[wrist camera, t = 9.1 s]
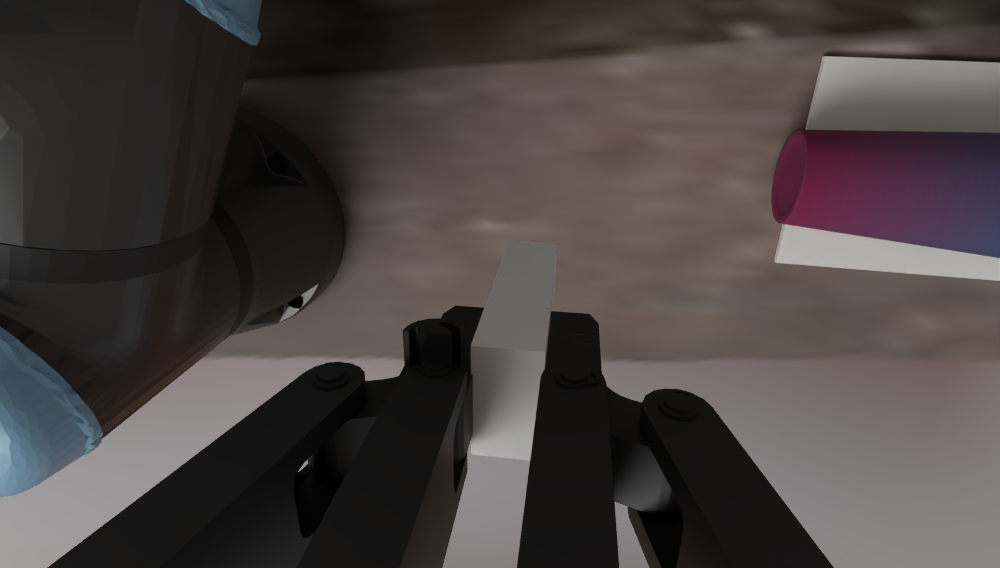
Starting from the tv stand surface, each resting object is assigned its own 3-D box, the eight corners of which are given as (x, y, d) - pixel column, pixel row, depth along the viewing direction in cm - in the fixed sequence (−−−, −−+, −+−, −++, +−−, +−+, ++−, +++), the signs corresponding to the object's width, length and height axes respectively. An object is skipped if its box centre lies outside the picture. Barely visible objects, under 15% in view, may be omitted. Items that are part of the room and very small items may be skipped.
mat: (773, 260, 36) (775, 262, 35) (822, 56, 31) (825, 56, 31) (1054, 282, 34) (1059, 285, 33) (1151, 68, 29) (1158, 68, 29)
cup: (779, 264, 30) (1097, 299, 28) (826, 148, 26) (1208, 178, 24) (759, 198, 35) (1027, 223, 33) (795, 91, 31) (1107, 112, 29)
